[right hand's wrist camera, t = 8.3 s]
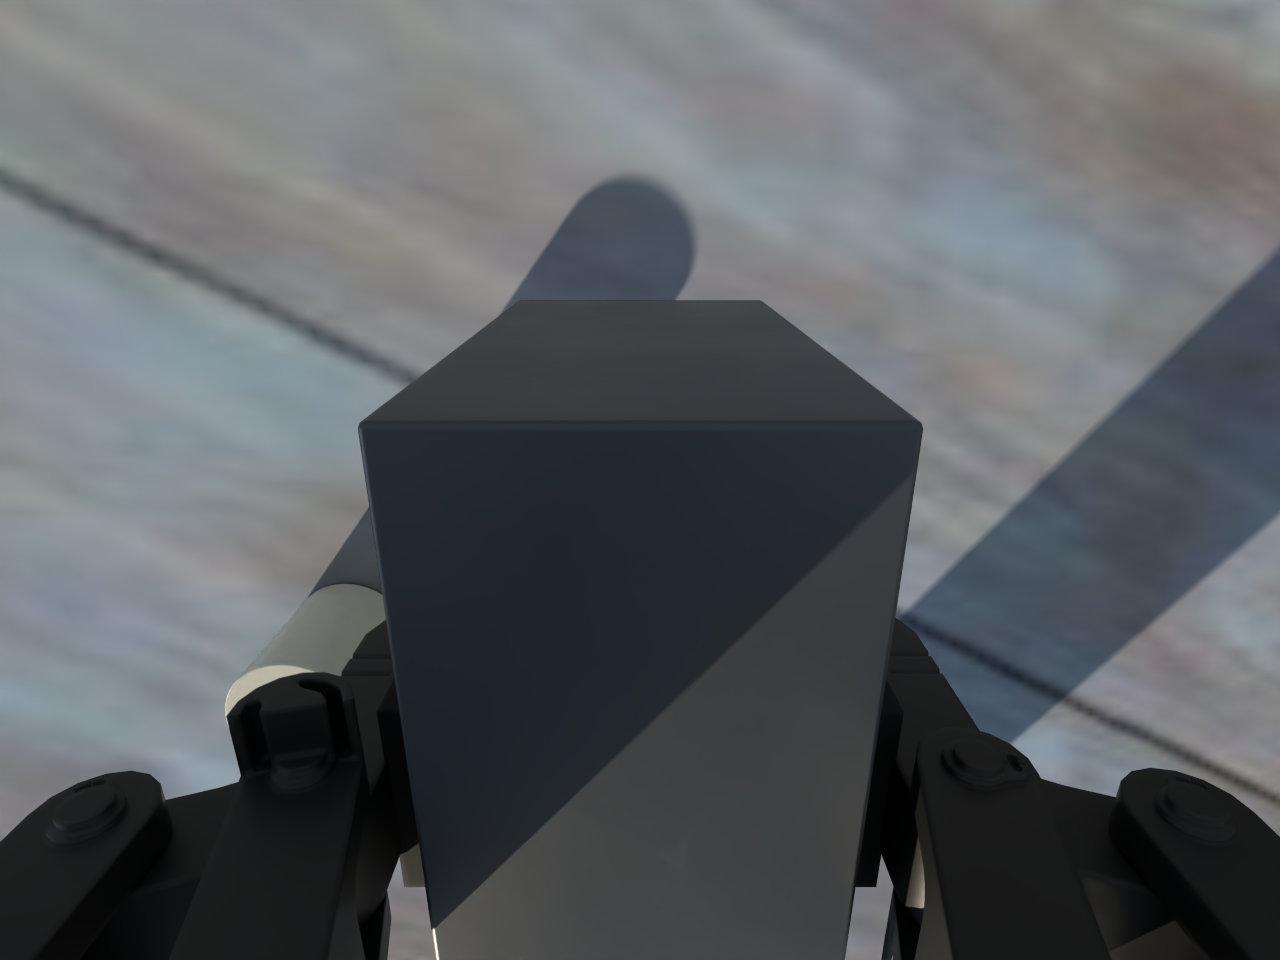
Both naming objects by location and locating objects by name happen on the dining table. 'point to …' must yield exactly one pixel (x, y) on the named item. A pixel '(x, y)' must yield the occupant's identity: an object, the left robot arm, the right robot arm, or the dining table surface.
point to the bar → (640, 628)
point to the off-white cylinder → (314, 638)
